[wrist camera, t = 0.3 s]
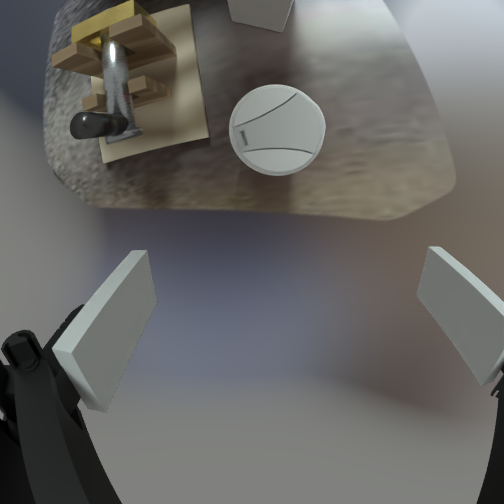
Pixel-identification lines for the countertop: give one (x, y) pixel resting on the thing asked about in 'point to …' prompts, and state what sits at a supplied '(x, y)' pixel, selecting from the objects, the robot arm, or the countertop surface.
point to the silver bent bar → (110, 100)
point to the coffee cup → (276, 130)
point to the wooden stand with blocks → (149, 80)
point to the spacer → (106, 23)
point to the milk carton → (261, 13)
